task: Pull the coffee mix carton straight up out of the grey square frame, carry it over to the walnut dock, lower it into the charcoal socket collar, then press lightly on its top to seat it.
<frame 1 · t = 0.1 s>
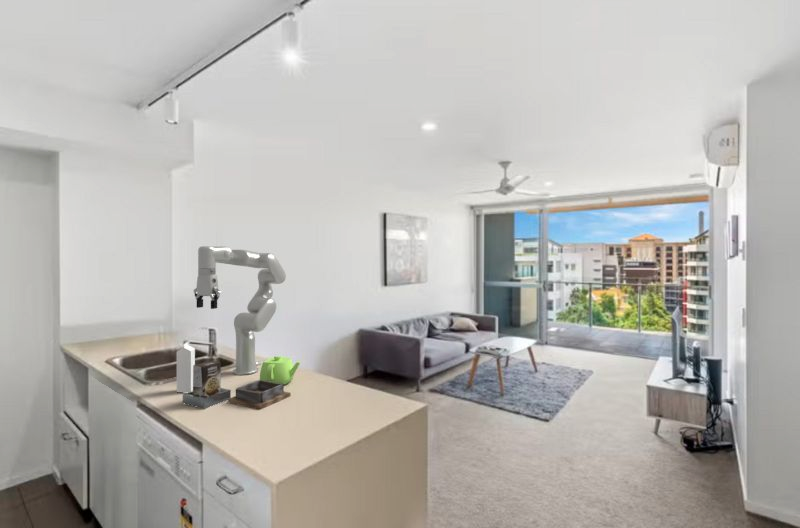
hand: (206, 307, 194), 37 cm above the counter, tool pointing down, fingers open, 9 cm apart
coffee box: (207, 401, 171), resting in grey square frame
milk: (185, 391, 184), on the counter
grey square frame: (207, 401, 171), on the counter
dock: (260, 399, 174), on the counter
teapot: (281, 383, 198), on the counter
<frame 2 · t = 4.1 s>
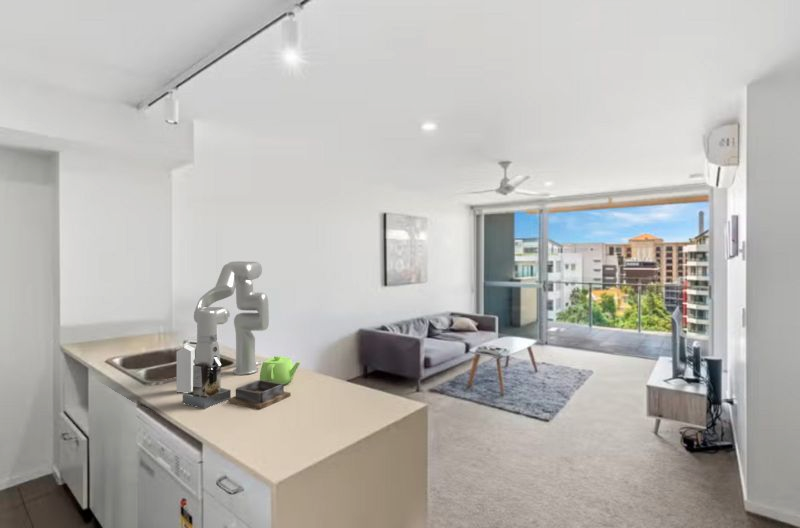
hand: (206, 380, 171), 9 cm above the counter, tool pointing down, fingers closed on coffee box, 6 cm apart
coffee box: (206, 401, 171), resting in grey square frame, touching gripper
everything else where it was.
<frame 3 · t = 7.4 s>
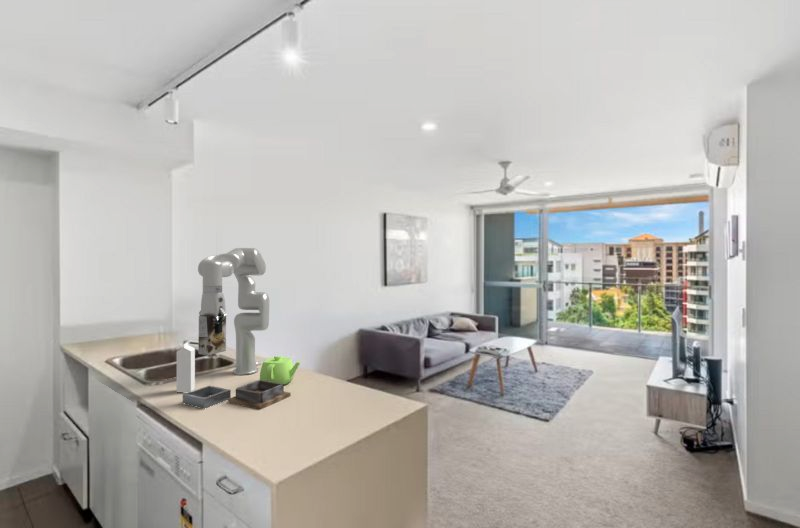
hand: (212, 331, 171), 29 cm above the counter, tool pointing down, fingers closed on coffee box, 6 cm apart
coffee box: (212, 352, 171), point 20 cm above the counter, touching gripper
everything else where it was.
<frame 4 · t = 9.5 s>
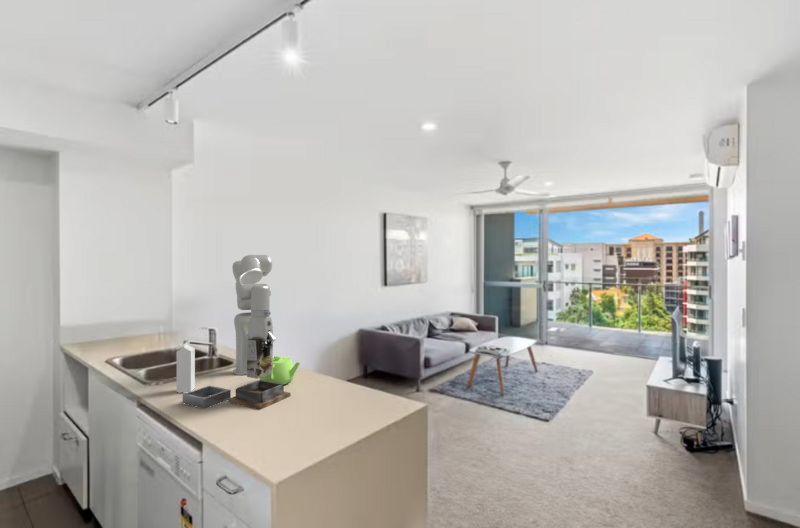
hand: (260, 355, 174), 19 cm above the counter, tool pointing down, fingers closed on coffee box, 6 cm apart
coffee box: (260, 375, 174), point 10 cm above the counter, touching gripper
everything else where it was.
when the fingers open (12 cm above the counter, at t = 11.2 s): coffee box drops 2 cm, resting on dock.
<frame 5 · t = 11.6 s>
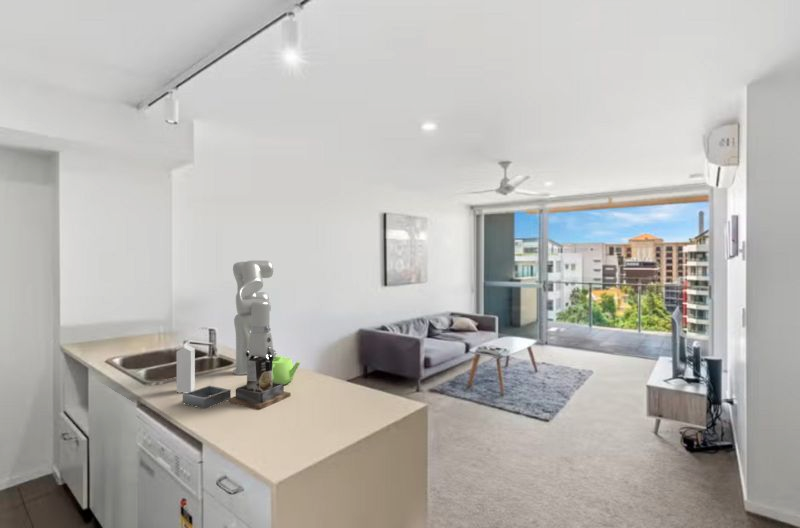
hand: (260, 369, 174), 13 cm above the counter, tool pointing down, fingers open, 9 cm apart
coffee box: (259, 396, 174), point 1 cm above the counter, touching dock
everything else where it was.
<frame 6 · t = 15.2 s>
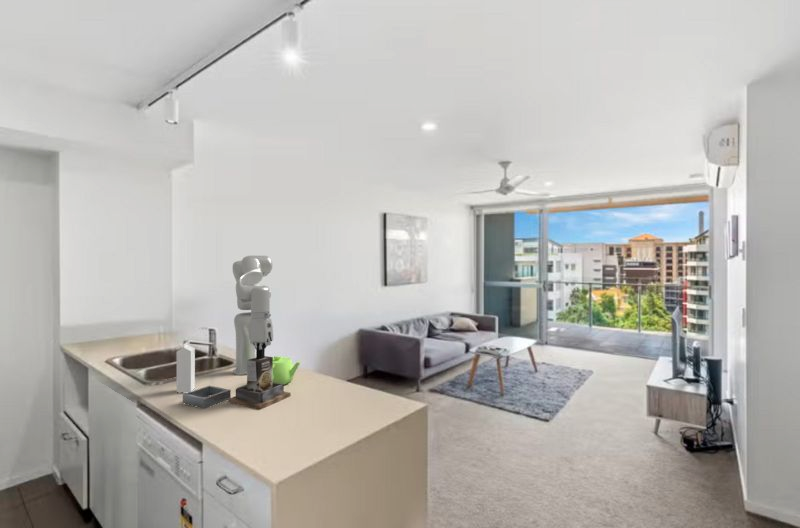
hand: (260, 358, 174), 18 cm above the counter, tool pointing down, fingers closed
coffee box: (259, 395, 174), point 1 cm above the counter, touching dock, gripper
everything else where it was.
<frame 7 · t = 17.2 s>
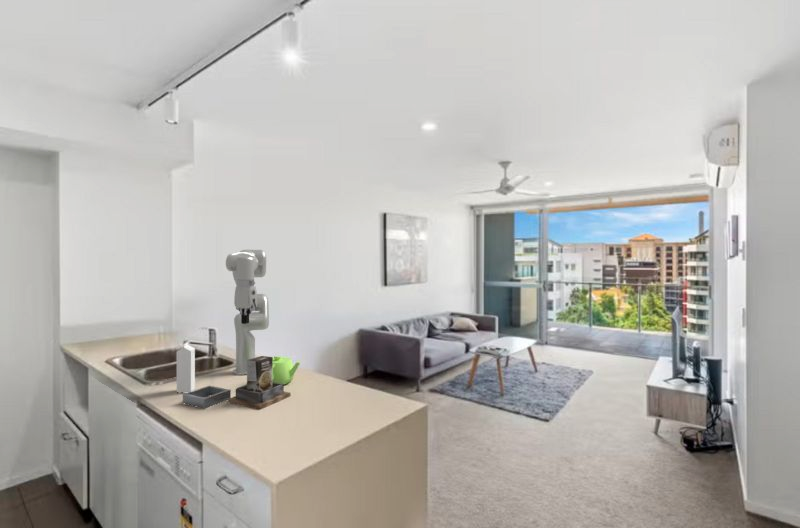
hand: (245, 323, 186), 31 cm above the counter, tool pointing down, fingers closed
coffee box: (259, 396, 174), point 1 cm above the counter, touching dock
everything else where it was.
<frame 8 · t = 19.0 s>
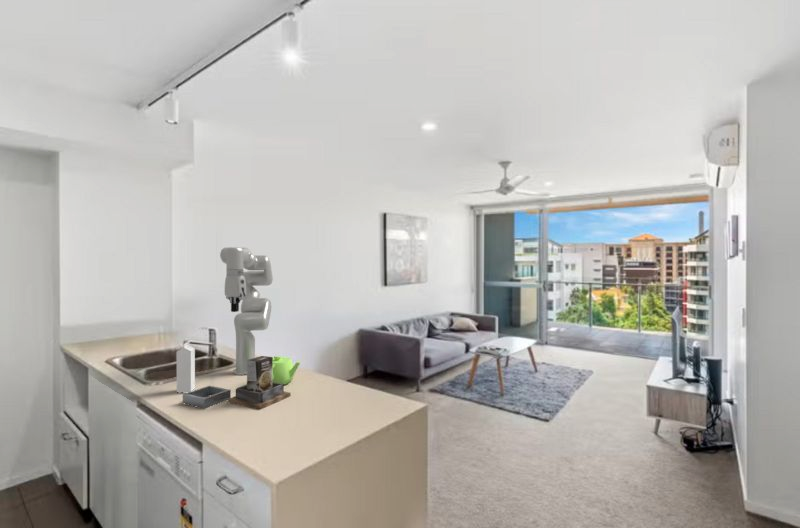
hand: (234, 311, 194), 35 cm above the counter, tool pointing down, fingers closed
nothing on the counter moved.
at the end: coffee box 0.2 cm off-centre on the dock, point 1.3 cm above the dock's base; coffee box tilted 0°; the gripper is holding nothing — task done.
